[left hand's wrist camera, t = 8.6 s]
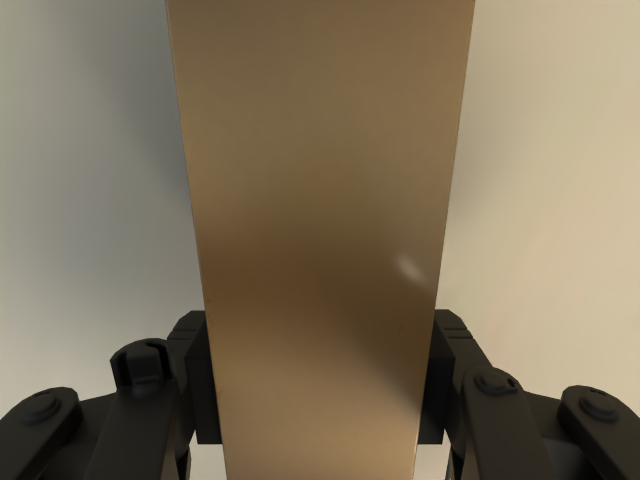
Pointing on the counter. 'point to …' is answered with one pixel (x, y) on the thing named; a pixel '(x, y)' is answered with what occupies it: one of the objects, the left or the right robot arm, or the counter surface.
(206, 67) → the beam
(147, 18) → the counter surface
